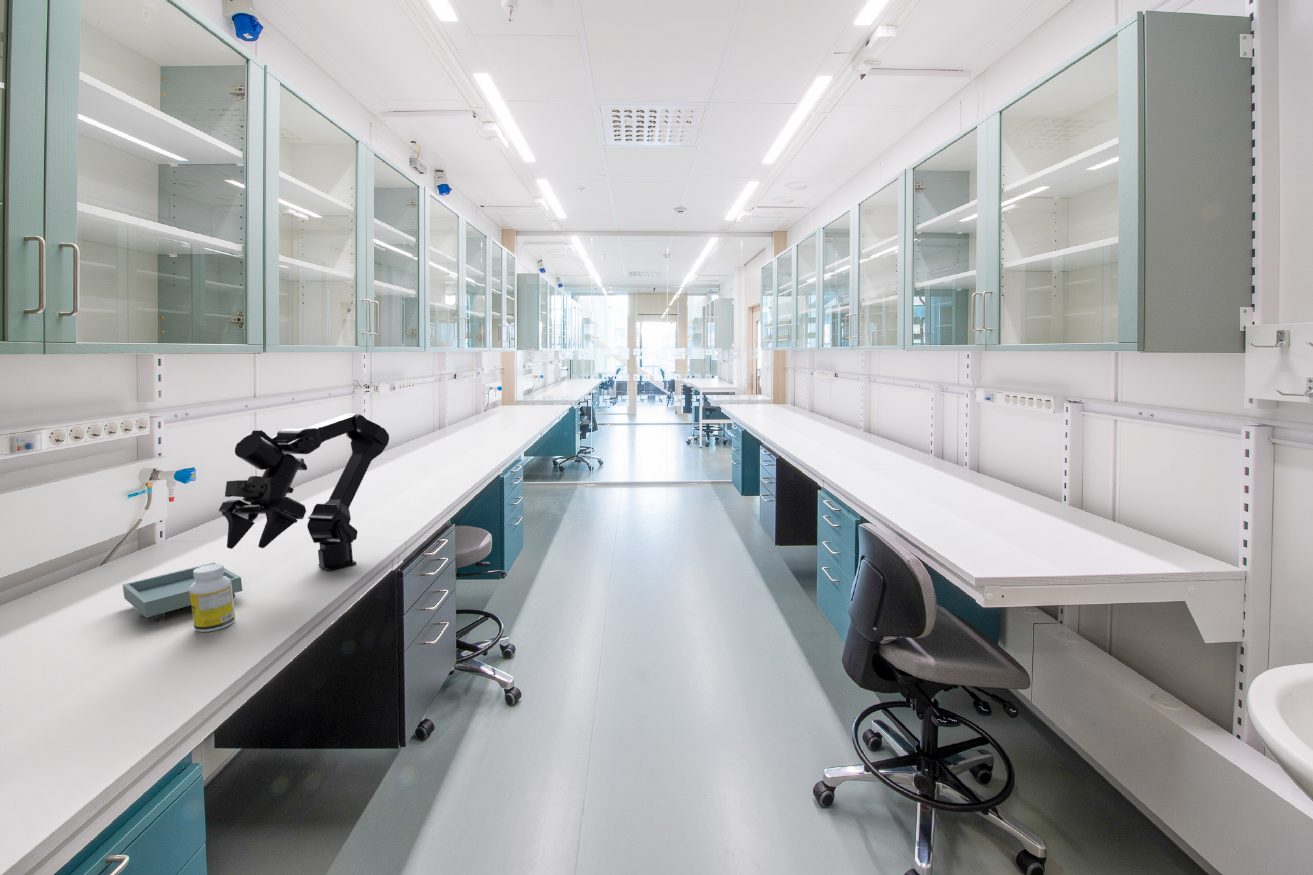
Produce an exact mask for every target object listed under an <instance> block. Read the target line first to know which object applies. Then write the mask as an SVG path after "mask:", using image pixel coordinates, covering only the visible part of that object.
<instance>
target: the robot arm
mask: <svg viewBox="0 0 1313 875" xmlns="http://www.w3.org/2000/svg"><path fill="white" fill-rule="evenodd" d="M276 434H277V435H274V436H273V437H270V436H269V435H268V434H267V433H266V432H265V431H263V430H262V429H261V430H260V429H258V430H257V429H254V430H252V431H251V434H249V435H247V436H245V437H243V438H242V439H241V440H240V441H239V442H237V443H236V445H235V448H234V453H235V456H236V457H238V458H239V459H241V460H243V461H244V462H245V463H247V464H249V465H251V466H253V467H254V468H256V469H258V470H261V471H263V474H262V475H261V476H258V475H253V476H252V475H250V476H249V477H248V478H247V479H244V480H241V479H240V480H239V479H238V480H227V481H226V484H225V492H224V497H226V498H231V497H237V498H238V497H239V498H242V499H241V500H240V499H233V500H232V499H231V500H230V499H229V500H226V501H223V502H222V503H221V505H220V507H219V509H218V512H219V513H221V515H222V517H225V519H226V520H227V525H228V526H227V527H228V530H227V537H226V540H227V541H226V548H227V549H230V550H232V549H234V548H235V546H237V545H238V544H239V542H241V540H242V539H243V537H245V535H246V534H247V533H248V532H249V531H250V529H251V528H253V526H254V525H255V522H254V521H255V520H256V519H258V516H259V515H262V514H263V515H265V516H266V521H265V525H264V528H263V530H262V533H261V536H260V538H259V542H258V548H261V549H265V548H266V547H267V546H268V545H270V543H272V542H273V541H274V540H275V539H276V538H277V537H278V536H280V535H281V534H282V533H283V532H285V531H286V530H287V529H289V528H290V527H291V526H292V525H294V524H296V523H297V522H299V521H298V520H304V518H305V515H306V513H307V508H306V506H305V505H304V504H303V503H301V502H299V501H297V500H295V499H292V497H288V496H287V495H288V494H293V492H294V490H295V489H294V488H293V487H292V484H293V482H294V479H295V478H296V475H297V472H298V471H307V470H308V465H307V464H306V463H305V459H304V458H302V457H301V458H300V457H299V458H297V457H296V456H294V455H309V454H311V453H313V452H314V451H316V450H317V449H319V448H320V447H321V445H322V444H323V443H324V442H326V441H329V440H331V439H333V438H334V439H335V438H337V437H339V436H342V435H346V437H347V438H348V439H350V440H351V441H350V448H351V455H350V457H349V459H348V461H347V462H346V464H345V467H344V469H343V471H342V473H341V474H340V477H339V479H338V480H337V481H338V482H337V483H336V484H335V486H334V488H333V491H332V493H331V495H330V497H329V498H328V500H327V501H326V502H324V503H316V504H315V505H314V506H313V510H312V512H311V514H310V515H309V516H308V517H307V519H308V521H307V522H308V523H307V525H306V526H307V530H308V533H309V535H310V537H311V539H312V542H313V543H314V544H318V543H319V549H318V550H317V554H318V566H319V567H320V568H322V569H325V570H327V571H329V572H330V571H336V570H339V569H342V568H345V567H349V566H353V565H356V564H357V561H356V560H354V559H353V557H354V556H353V547H352V543H353V542H354V541H355V540H357V537H358V530H357V529H356V528H355V527H354V526H352V525H351V524H350V522H351V520H352V518H351V512H350V506H351V504H352V502H353V500H354V498H355V496H356V494H357V492H358V490H359V488H360V487H361V483H362V482H363V480H364V478H365V475H366V473H367V471H368V469H369V467H370V464H371V463H372V461H373V460H374V459H376V458H377V457H379V456H380V455H381V454H382V453H383V452H384V450H385V449H386V447H387V446H388V444H389V441H390V435H389V433H388V432H387V430H386V428H385V427H382V426H381V425H380V424H378V423H376V422H373V421H372V420H369V419H367V418H366V417H365V416H363V415H362V414H360V413H344V414H342V415H340V416H338V417H334V418H332V419H328V420H325V421H323V422H319V423H316V424H313V425H311V426H300V427H299V426H298V427H289V428H287V427H286V428H281V429H280V430H278V431H277V433H276ZM249 503H250V504H249Z"/></svg>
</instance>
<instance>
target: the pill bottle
mask: <svg viewBox="0 0 1313 875" xmlns="http://www.w3.org/2000/svg"><path fill="white" fill-rule="evenodd" d="M205 565H206V564H205ZM201 566H202V565H201ZM224 568H225V567H224V564H220V563H216V564H212V565H206V566H202V567H199V568H196V569H195V570H194V571H193V576H194V579H196V582H194V583H193V584H192V585H191V586H190V589H189V592H190V599H191V605H190V606H191V614H192V621H193V622H192V623H193V628H194V629H195V631H197V632H200V633H208V632H215V631H219V630H221V629H225V628H227V627H229V626H230V625H233V623H234V622H235V621H236V612H235V603H234V599H233V592H232V584H231V580H230V579H229V578H228V577H226V576H223V573H224Z"/></svg>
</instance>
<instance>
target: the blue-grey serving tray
mask: <svg viewBox="0 0 1313 875" xmlns="http://www.w3.org/2000/svg"><path fill="white" fill-rule="evenodd" d="M212 564H217V563H216V562H211V563H206V564H203V565H202V564H201V565H199V566H195V567H190V568H185V569H182V570H181V569H180V570H178V571H173V572H169V573H164V574H160V575H155V576H151V577H148V578H144V579H143V578H142V579H140V580H135V581H131V582H127V583H124V584H121V585H122V591H123V596H124V599H125V601H127V602H128V603H129V604H130V605H132V606H133V607H134V608H135V610H137V612H139V613H140V614H142V616H144V617H145V618H150V620H151V621H152V622H154V623H158V622H159V623H160V622H161V621H162V620H164V618H165V614H164V613H168V612H171V611H175V610H179V609H181V608H185V607H188V606H189V607H190V606H191V599H190V592H189V589H190V586H191V585H192V584H193V583H194V582H196V579H194V576H193V571H194V570H195V569H196V568H199V567H202V566H206V565H212ZM223 576H226V577H228V578H229V579H230V580H231V584H232V592H233V600H234V598H235V597H236V595H235V594H237V593H238V592H243V584H242V576H240V575H237V574H236V573H234V572H233V571H230V570H228V569H227V568H225V567H224V573H223Z"/></svg>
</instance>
